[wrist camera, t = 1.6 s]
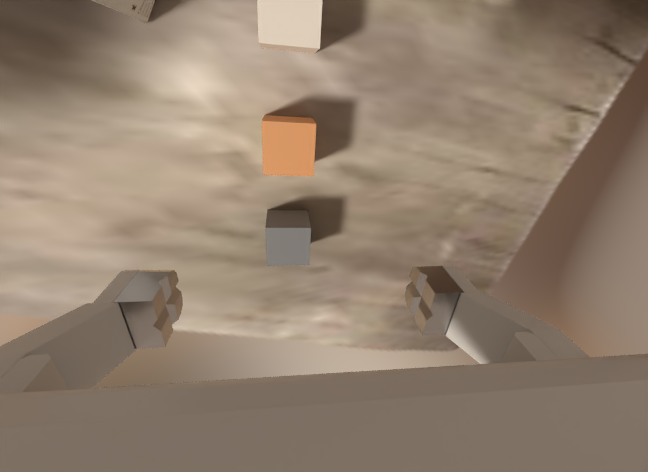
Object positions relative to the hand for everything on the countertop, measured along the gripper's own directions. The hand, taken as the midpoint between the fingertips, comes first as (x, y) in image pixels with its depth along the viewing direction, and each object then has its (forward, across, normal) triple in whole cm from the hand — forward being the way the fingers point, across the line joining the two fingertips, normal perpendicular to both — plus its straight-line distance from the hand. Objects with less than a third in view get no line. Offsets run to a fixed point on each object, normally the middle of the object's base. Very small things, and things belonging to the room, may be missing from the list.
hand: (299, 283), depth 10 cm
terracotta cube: (+25, 0, 0) cm, 25 cm away
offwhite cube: (+25, 0, -11) cm, 28 cm away
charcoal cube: (+25, 0, +10) cm, 27 cm away
